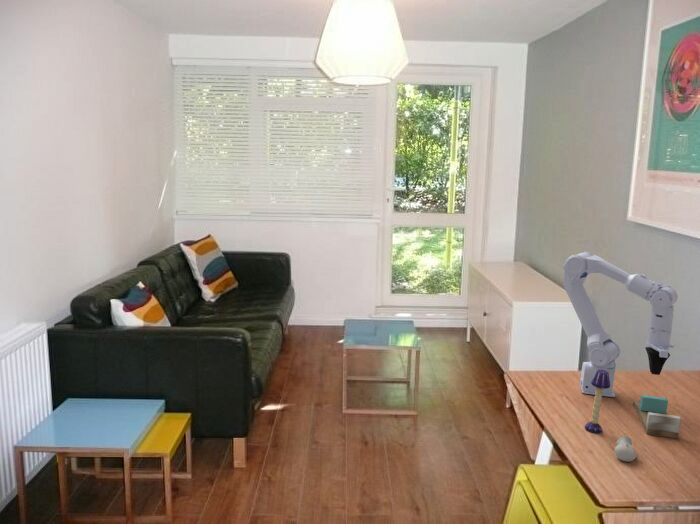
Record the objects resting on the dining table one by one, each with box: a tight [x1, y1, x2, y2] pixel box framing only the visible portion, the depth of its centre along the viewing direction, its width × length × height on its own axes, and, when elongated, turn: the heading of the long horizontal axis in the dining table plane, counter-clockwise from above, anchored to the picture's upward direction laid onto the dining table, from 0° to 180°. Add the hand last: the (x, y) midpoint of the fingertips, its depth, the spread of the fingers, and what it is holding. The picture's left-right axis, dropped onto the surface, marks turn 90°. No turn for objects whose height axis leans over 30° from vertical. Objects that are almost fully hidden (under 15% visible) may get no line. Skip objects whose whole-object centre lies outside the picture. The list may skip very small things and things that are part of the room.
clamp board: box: [632, 399, 682, 439], centre depth 162 cm, size 8×19×6 cm, turn 165°
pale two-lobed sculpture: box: [614, 435, 638, 463], centre depth 143 cm, size 4×8×5 cm
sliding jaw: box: [639, 394, 669, 414], centre depth 164 cm, size 6×2×4 cm, turn 75°
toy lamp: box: [584, 369, 610, 434], centre depth 155 cm, size 5×5×17 cm
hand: (654, 373), depth 170 cm, fingers closed
